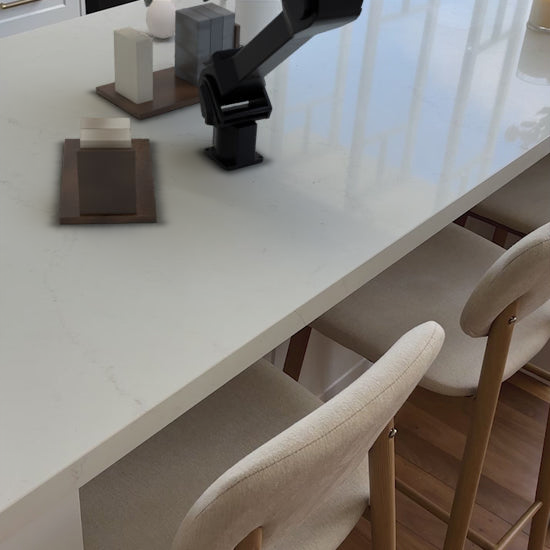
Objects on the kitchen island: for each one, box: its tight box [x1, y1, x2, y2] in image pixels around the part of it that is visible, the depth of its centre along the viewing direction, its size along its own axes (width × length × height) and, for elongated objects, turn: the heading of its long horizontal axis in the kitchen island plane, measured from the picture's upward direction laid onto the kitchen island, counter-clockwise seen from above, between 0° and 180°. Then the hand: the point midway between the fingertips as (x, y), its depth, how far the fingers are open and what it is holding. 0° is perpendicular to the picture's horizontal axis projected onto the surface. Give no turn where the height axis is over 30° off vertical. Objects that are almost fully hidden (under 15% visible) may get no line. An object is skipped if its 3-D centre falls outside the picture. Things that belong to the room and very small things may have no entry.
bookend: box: [95, 2, 240, 121], centre depth 142 cm, size 12×22×12 cm, turn 133°
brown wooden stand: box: [58, 117, 158, 225], centre depth 117 cm, size 12×21×11 cm, turn 9°
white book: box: [113, 26, 154, 104], centre depth 137 cm, size 6×3×10 cm, turn 43°
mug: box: [218, 0, 282, 47], centre depth 164 cm, size 12×8×10 cm
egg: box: [145, 0, 178, 40], centre depth 162 cm, size 6×6×8 cm
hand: (175, 1), depth 135 cm, fingers open, 9 cm apart
